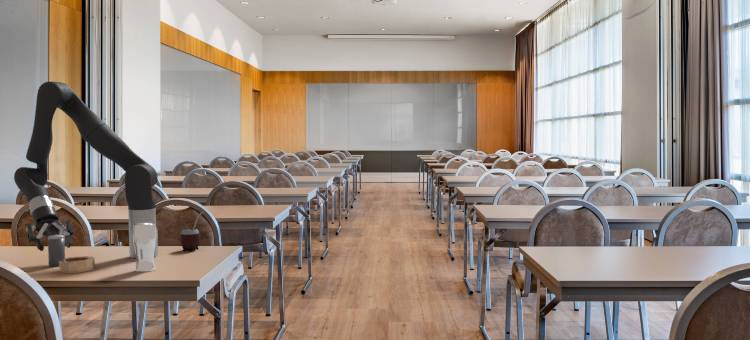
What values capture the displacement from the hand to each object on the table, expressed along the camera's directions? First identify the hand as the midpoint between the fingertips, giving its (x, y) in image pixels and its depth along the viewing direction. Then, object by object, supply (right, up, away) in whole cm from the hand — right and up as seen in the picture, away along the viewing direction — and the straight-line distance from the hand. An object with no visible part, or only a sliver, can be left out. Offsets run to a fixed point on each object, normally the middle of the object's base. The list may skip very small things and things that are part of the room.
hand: (56, 247), depth 208 cm
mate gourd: (+38, -4, +27) cm, 47 cm away
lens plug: (0, -6, 0) cm, 6 cm away
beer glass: (+34, -6, -10) cm, 36 cm away
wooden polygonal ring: (+11, -6, -8) cm, 15 cm away
